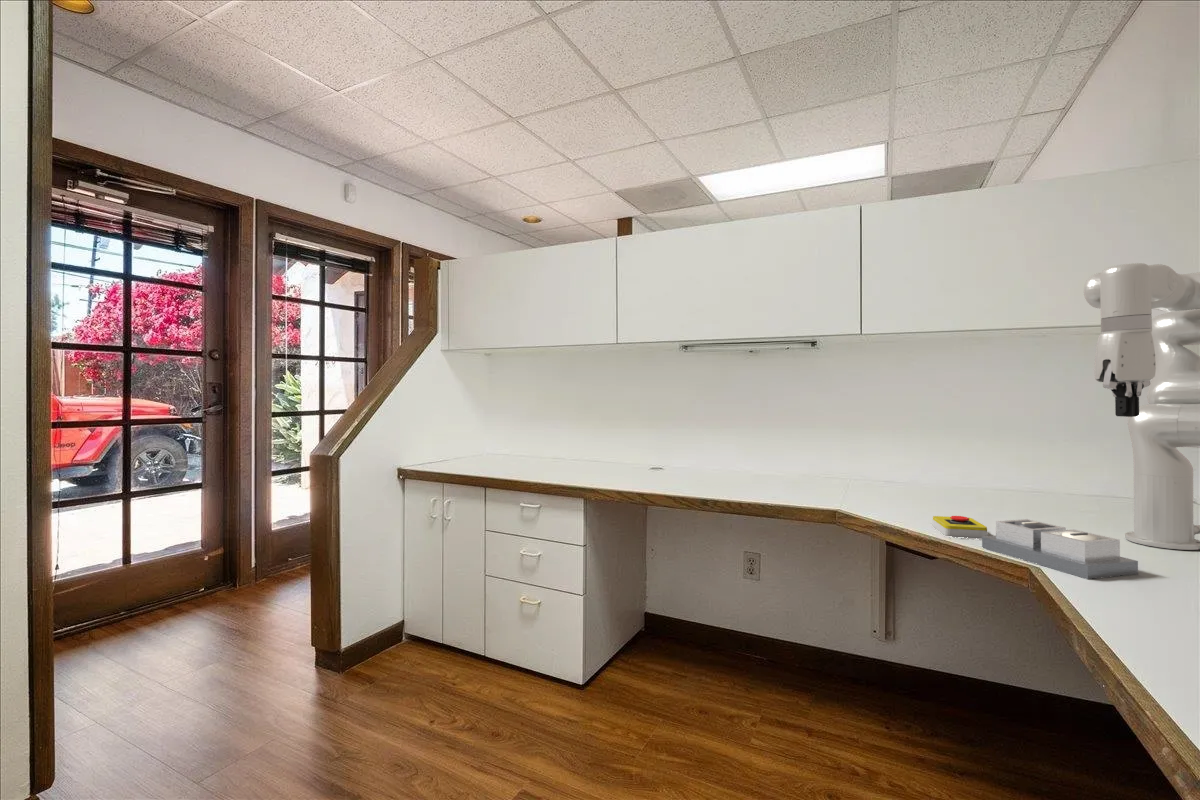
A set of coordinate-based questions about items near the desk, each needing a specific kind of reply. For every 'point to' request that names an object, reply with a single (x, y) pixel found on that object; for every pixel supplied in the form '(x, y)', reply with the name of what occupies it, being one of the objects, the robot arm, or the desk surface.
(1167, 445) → the robot arm
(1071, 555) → the mount
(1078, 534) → the knob ivory
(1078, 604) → the desk surface
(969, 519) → the emergency button
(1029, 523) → the knob black
